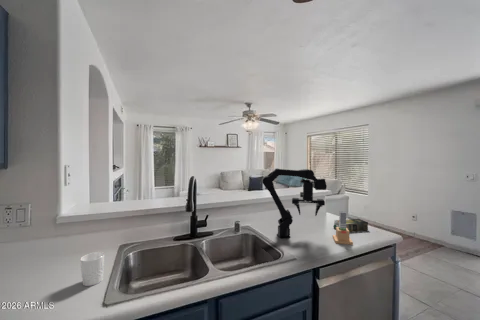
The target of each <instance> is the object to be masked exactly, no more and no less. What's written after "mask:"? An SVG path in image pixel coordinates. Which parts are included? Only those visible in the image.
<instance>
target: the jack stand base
mask: <svg viewBox="0 0 480 320" xmlns="http://www.w3.org/2000/svg"><path fill="white" fill-rule="evenodd" d="M350 233H351V232H350V231H349V230H348V229H347V228H346V230H339V227H336V228H335V234H333V235H332V239H333V241H334V243H335V244H338V245H352V246H353V245H354V242H353V240H352V239H351V237H350Z"/></svg>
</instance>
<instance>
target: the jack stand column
mask: <svg viewBox="0 0 480 320" xmlns="http://www.w3.org/2000/svg"><path fill="white" fill-rule="evenodd" d="M338 217H339V218H338V220H339V230H346V219H347V212H346V211H339V215H338Z"/></svg>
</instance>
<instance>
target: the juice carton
mask: <svg viewBox="0 0 480 320" xmlns="http://www.w3.org/2000/svg"><path fill="white" fill-rule="evenodd" d="M333 222H334V223H333V228H334V229H336V227H339V219H334V221H333ZM346 228H347V229H348V230H349V231H350V232H349V233H352V232H364V231H367V232H368V231H369V222H368V221H366V220H363V219H360V218H350V219H349V218H348V219H347V218H346Z"/></svg>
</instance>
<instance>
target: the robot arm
mask: <svg viewBox="0 0 480 320" xmlns="http://www.w3.org/2000/svg"><path fill="white" fill-rule="evenodd" d="M279 176H284V177H285V176H286V177H298V178H301V179H300V180H299V183H300V184H302V183H303V184H302V191H300V192H299V195H300V198H302V199H299V197H291V204H293V205H294V206H296V208H297V210H298V213H299V216H301V208H300V207H301V206H300V204H303V203H305V204H315V212H314V214H315V215H314V216H315V217H317V214H318V212H319V210H320V209H321V208H322V207H323V206H325V204H326V202H325V200H324V199H323V198H316V199H314V189H315V191H326V190H327V186H328V185H327V182H326V179H325V178H317V177H316V176H315V173H314V170H312V169H309V168H305V169H304V168H303V169H285V168H274V170H273V171H271V172H270V173H269V174H267V175H264V176H263V177H262V178H261V182H262V185H264V187H265V188H266V190H267V191H268V192H269V194H270V196H271V198H272V200H273V201H274V204H275V205H276V207H277V209H278V210H279V211H278V212H279V216H280V218H279V219H278V220H277V223H278V225H277V233H276V235H277V237H279V238H280V239H288V238H291V228H290V226H291V225H292V223H293V221H294V220H293V215H292V214H291V211H290V210H289V209H286V208H285V206H284V204H283V202H282V200H281V199H280V197H279V195H278V192H277V191H276V189H275V185H274V183H273V182H274V181H275V180H276V179H277V178H278V177H279Z"/></svg>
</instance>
